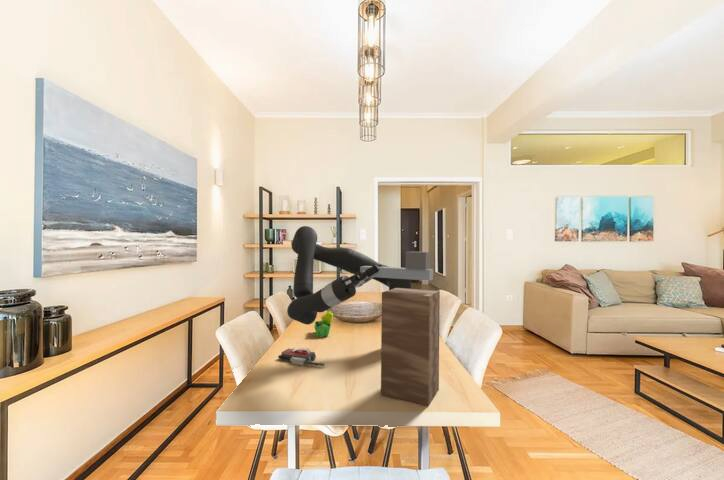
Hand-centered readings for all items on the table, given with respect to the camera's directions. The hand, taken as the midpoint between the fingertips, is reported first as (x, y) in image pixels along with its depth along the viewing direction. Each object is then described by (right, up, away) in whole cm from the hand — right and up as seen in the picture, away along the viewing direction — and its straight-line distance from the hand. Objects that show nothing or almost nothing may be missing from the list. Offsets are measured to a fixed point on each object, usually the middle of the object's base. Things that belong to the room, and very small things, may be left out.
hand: (380, 267), depth 106 cm
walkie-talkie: (-27, -37, +21) cm, 51 cm away
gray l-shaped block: (+5, -3, -2) cm, 6 cm away
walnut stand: (+9, -37, -5) cm, 38 cm away
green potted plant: (-24, -37, +58) cm, 73 cm away
